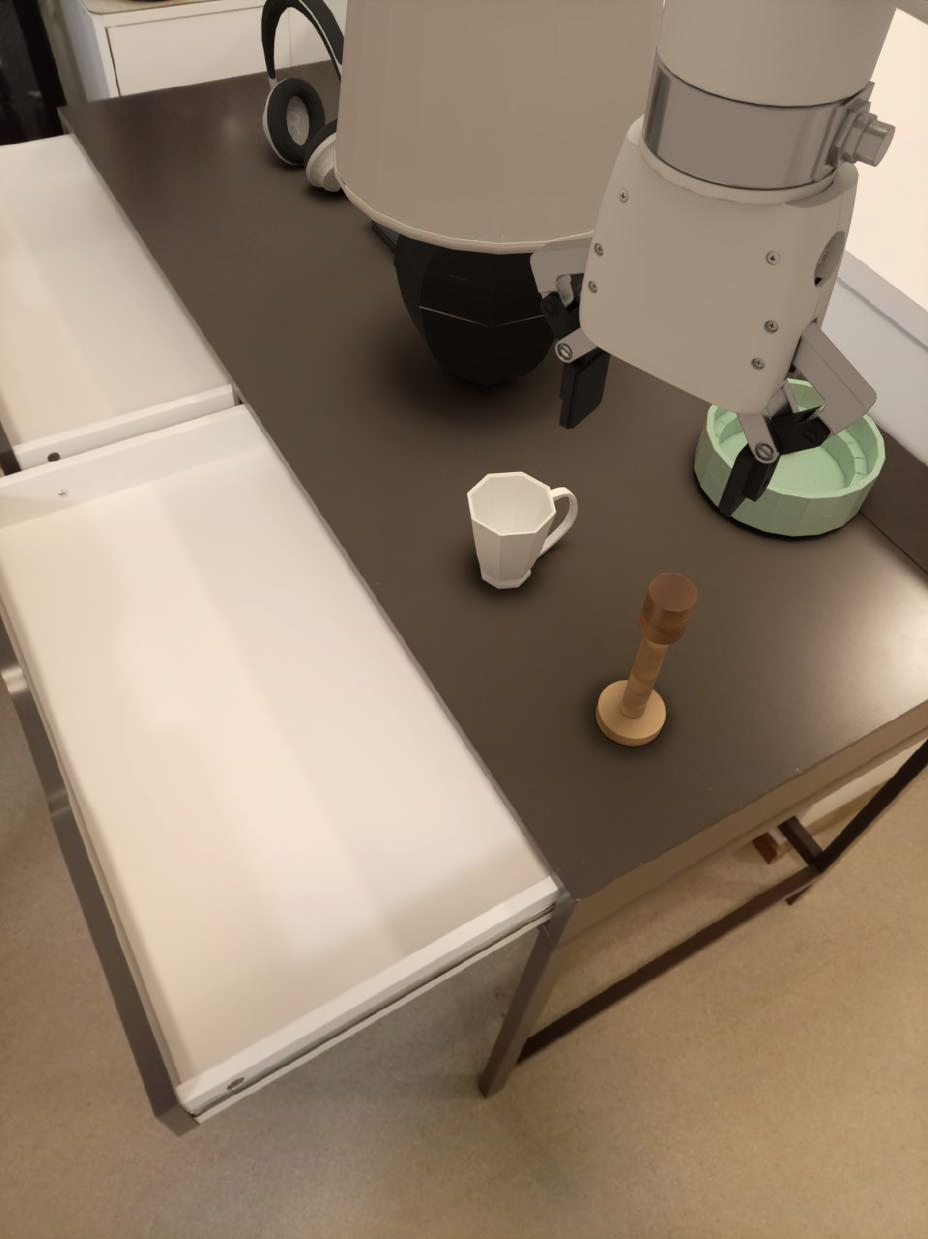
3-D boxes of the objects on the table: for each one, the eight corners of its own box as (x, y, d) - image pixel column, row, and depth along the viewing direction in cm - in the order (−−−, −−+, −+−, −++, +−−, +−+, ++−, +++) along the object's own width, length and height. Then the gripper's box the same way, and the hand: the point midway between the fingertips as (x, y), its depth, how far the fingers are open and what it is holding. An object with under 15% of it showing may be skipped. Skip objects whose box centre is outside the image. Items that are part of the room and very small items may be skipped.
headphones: (252, 152, 114) (222, -31, 98) (308, 134, 117) (288, -46, 101) (334, 219, 106) (316, 29, 89) (392, 197, 109) (385, 10, 93)
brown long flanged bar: (672, 706, 67) (726, 580, 55) (646, 757, 64) (696, 637, 52) (612, 677, 68) (651, 548, 56) (584, 726, 66) (618, 602, 54)
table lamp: (485, 260, 101) (508, -212, 69) (673, 372, 90) (805, -127, 58) (296, 361, 90) (219, -148, 58) (486, 504, 79) (521, -27, 47)
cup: (447, 556, 75) (448, 488, 69) (546, 514, 78) (556, 446, 72) (490, 614, 72) (495, 549, 65) (592, 568, 75) (607, 502, 68)
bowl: (879, 460, 84) (903, 414, 79) (833, 567, 76) (858, 523, 71) (725, 403, 88) (741, 357, 83) (667, 499, 80) (680, 454, 75)
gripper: (1014, 154, 32) (838, 493, 45) (608, 19, 38) (562, 354, 52) (934, 242, 28) (770, 581, 42) (500, 77, 34) (482, 420, 48)
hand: (655, 455), depth 47 cm, fingers open, 9 cm apart
